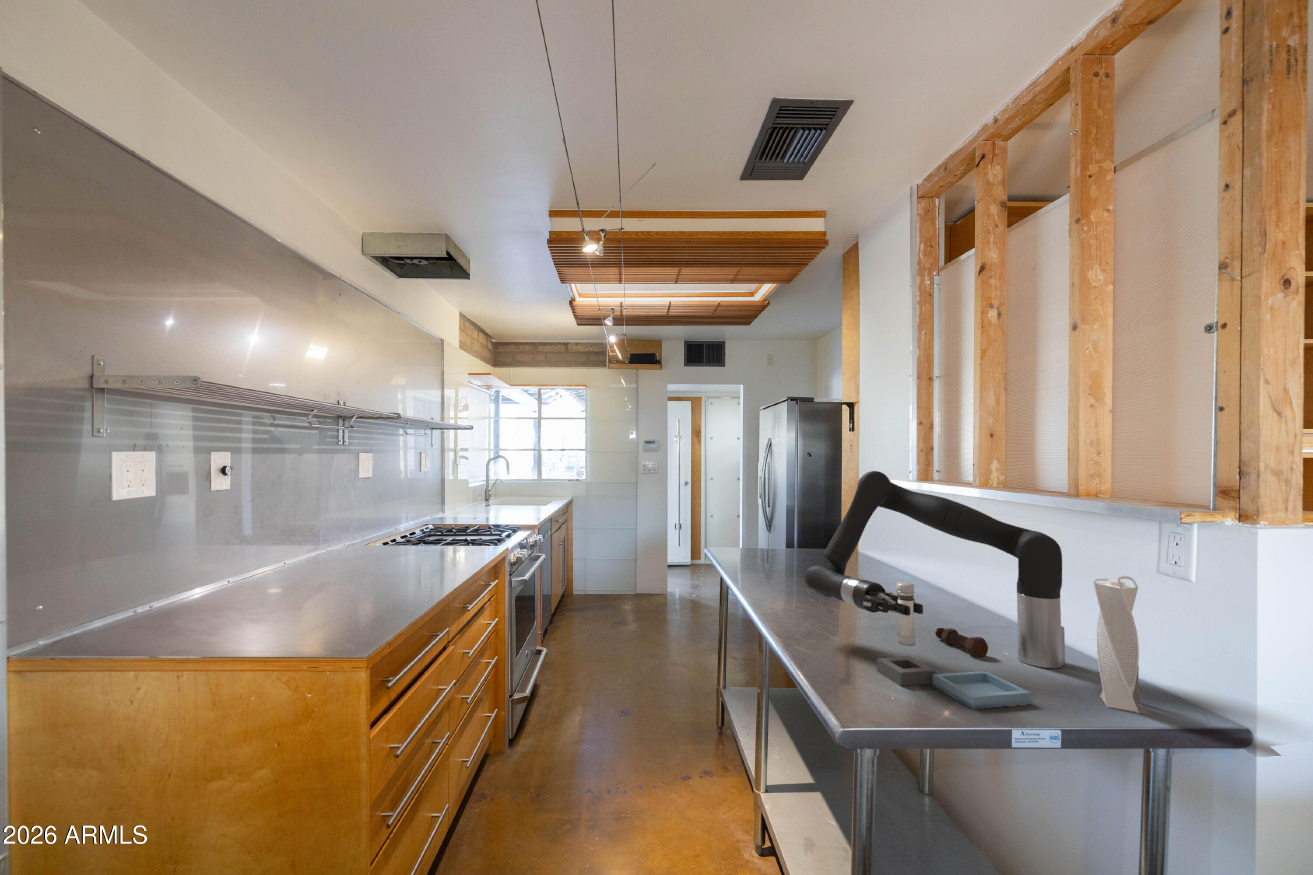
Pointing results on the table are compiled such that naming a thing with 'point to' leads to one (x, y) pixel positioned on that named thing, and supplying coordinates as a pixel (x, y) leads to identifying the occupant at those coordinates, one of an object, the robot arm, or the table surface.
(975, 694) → the tray
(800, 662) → the table surface
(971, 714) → the table surface
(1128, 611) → the skyscraper
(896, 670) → the fuse holder
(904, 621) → the fuse
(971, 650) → the bolt
